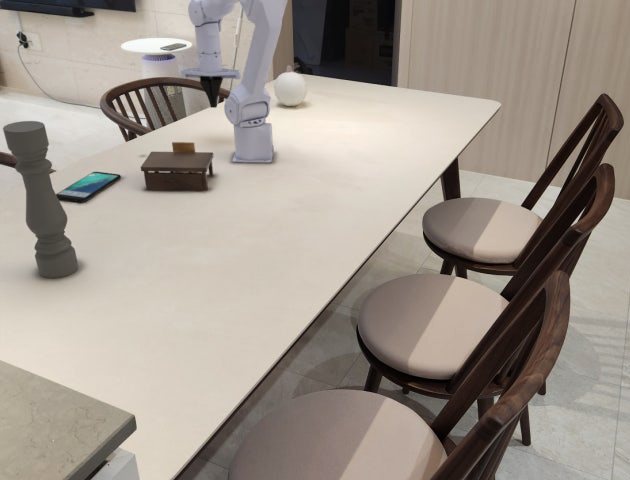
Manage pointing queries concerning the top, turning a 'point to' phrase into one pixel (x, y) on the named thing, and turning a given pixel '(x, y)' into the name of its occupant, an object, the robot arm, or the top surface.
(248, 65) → the robot arm
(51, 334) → the top surface
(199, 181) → the desk
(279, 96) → the ornament
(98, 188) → the smartphone
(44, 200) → the candle holder
